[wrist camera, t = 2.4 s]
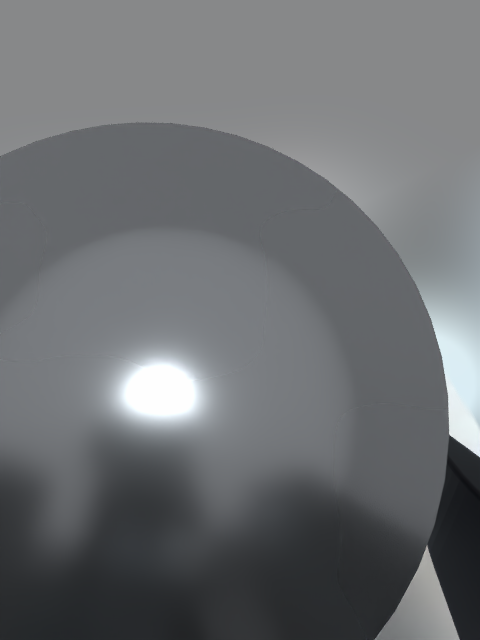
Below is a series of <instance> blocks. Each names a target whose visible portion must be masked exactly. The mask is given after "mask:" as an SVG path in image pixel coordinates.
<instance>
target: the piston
mask: <svg viewBox="0 0 480 640" xmlns="http://www.w3.org/2000/svg"><path fill="white" fill-rule="evenodd" d="M448 444H449V417H448V393H447V387H446V381H445V374H444V368H443V362H442V356H441V352H440V349H439V346H438V342H437V339H436V335H435V332H434V328H433V325H432V322H431V318H430V316H429V314H428V311H427V309H426V307H425V305H424V302H423V300H422V298H421V295H420V293H419V290H418V288H417V286H416V284H415V282H414V281H413V279H412V277H411V275H410V274H409V272H408V270H407V269H406V267H405V265H404V264H403V262H402V260H401V258H400V257H399V255H398V253H397V252H396V251H395V249H394V248H393V247H392V245H391V244H390V243H389V242H388V240H387V239H386V237H385V236H384V235H383V234H382V232H381V231H380V230H379V228H378V227H377V226H376V225H375V224H374V223H373V222H372V221H371V219H370V218H369V217H368V216H367V215H366V214H365V213H364V212H363V211H362V210H361V209H360V208H359V207H358V206H357V205H356V204H355V203H354V202H353V201H352V200H351V199H350V198H348V197H347V196H346V195H345V194H343V193H342V192H341V191H340V190H338V189H337V188H336V187H335V186H334V185H332V184H331V183H330V182H329V181H328V180H326V179H325V178H323V177H322V176H320V175H318V174H317V173H315V172H314V171H312V170H311V169H309V168H308V167H306V166H304V165H303V164H301V163H300V162H298V161H296V160H294V159H292V158H290V157H288V156H286V155H284V154H282V153H280V152H278V151H276V150H274V149H272V148H270V147H267V146H265V145H262V144H259V143H256V142H254V141H251V140H248V139H245V138H243V137H240V136H237V135H232V134H229V133H224V132H221V131H216V130H212V129H208V128H203V127H195V126H188V125H181V124H173V123H125V124H113V125H102V126H97V127H92V128H86V129H81V130H75V131H70V132H67V133H64V134H60V135H57V136H53V137H49V138H46V139H43V140H39V141H36V142H33V143H31V144H28V145H26V146H24V147H21V148H19V149H16V150H14V151H11V152H9V153H7V154H4V155H2V156H0V640H374V639H375V638H376V636H377V635H378V634H379V632H380V631H381V630H382V628H383V627H384V625H385V624H386V623H387V621H388V620H389V619H390V617H391V616H392V614H393V613H394V612H395V610H396V608H397V606H398V605H399V603H400V601H401V599H402V597H403V595H404V593H405V592H406V590H407V588H408V586H409V584H410V582H411V580H412V579H413V577H414V575H415V573H416V571H417V569H418V567H419V564H420V562H421V559H422V557H423V554H424V551H425V549H426V546H427V543H428V541H429V538H430V535H431V533H432V530H433V527H434V525H435V521H436V516H437V512H438V508H439V503H440V499H441V495H442V491H443V486H444V482H445V474H446V464H447V454H448Z"/></svg>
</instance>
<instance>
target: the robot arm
mask: <svg viewBox="0 0 480 640" xmlns="http://www.w3.org/2000/svg"><path fill="white" fill-rule="evenodd" d="M427 546H428V549H429V553H430V556H431V559H432V562H433V565H434V568H435V571H436V574H437V577H438V579H439V582H440V585H441V588H442V591H443V593H444V596H445V599H446V602H447V605H448V608H449V610H450V613H451V616H452V619H453V622H454V625H455V627H456V630H457V633H458V636H459V639H460V640H480V457H479V456H477V455H476V454H475V453H473V452H472V451H470V450H469V449H468V448H466V447H465V446H464V445H462V444H461V443H460V442H458V441H457V440H456V439H454V438H453V437H451V436H450V435H449V444H448V454H447V464H446V474H445V482H444V486H443V491H442V495H441V499H440V503H439V508H438V512H437V516H436V521H435V525H434V527H433V530H432V533H431V535H430V538H429V541H428V543H427Z"/></svg>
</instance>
